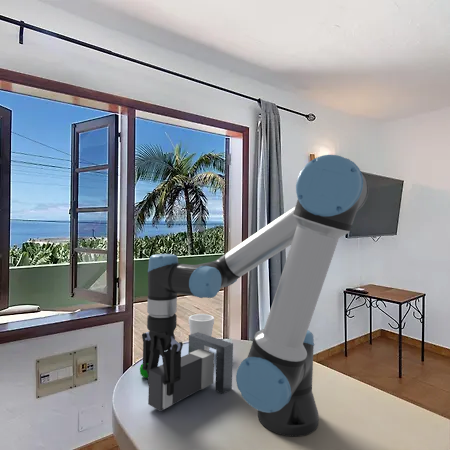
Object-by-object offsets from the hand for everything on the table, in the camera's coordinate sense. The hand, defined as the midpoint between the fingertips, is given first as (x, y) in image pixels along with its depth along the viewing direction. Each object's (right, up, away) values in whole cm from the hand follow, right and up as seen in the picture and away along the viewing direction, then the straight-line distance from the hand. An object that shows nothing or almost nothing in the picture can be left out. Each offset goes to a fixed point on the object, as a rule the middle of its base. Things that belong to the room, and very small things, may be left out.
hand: (160, 402), depth 89 cm
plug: (+5, -1, +6) cm, 8 cm away
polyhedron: (-7, -2, +18) cm, 20 cm away
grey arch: (+12, -2, +15) cm, 19 cm away
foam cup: (+8, -2, +39) cm, 40 cm away
